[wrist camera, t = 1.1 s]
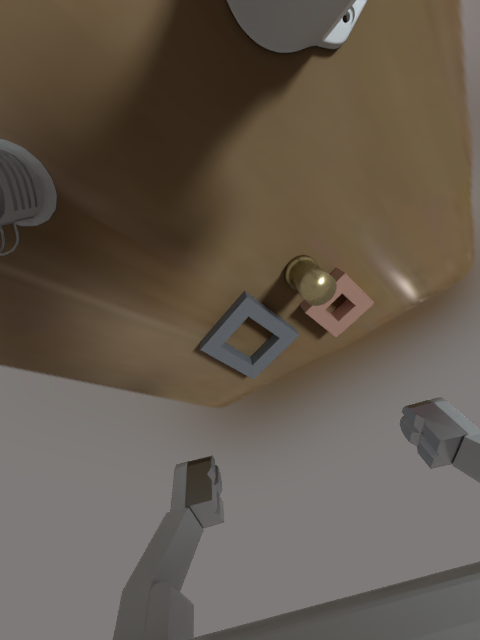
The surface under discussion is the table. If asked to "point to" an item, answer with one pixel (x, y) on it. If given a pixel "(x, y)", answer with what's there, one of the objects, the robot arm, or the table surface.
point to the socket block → (230, 323)
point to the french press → (23, 190)
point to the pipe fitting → (310, 280)
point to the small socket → (346, 311)
